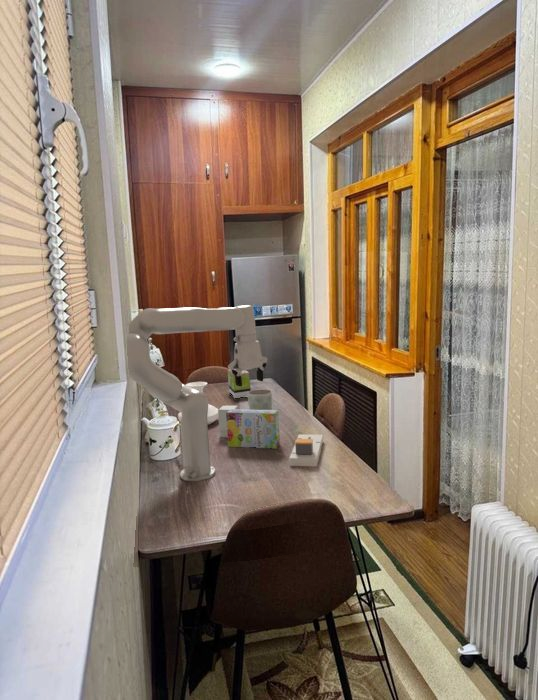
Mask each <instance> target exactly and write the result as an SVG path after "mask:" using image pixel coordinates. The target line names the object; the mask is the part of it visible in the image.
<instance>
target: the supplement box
mask: <svg viewBox="0 0 538 700" xmlns="http://www.w3.org/2000/svg"><path fill="white" fill-rule="evenodd" d="M230 409H239V406H238V405H222V406H221V407H220V408H218V416H219V417H218V427H219V428H218V429H219V438H228V433H227V418H226V412H228V411H229V410H230Z"/></svg>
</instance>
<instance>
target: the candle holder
mask: <svg viewBox="0 0 538 700" xmlns="http://www.w3.org/2000/svg"><path fill="white" fill-rule="evenodd" d="M185 385H186V386H189V387H191V388H194V389H197V390H199V391H201V392H202V393H203V394H204V387H206V386H207V385H208V382H206V381H193V382H188V383H186V384H185ZM218 410H219V408H217V407H215V405H212V404H209V403H208V414H207V425H211V424H212V423H214V422H215V421H216V420H217V419H219V416H218ZM177 417H178V421H179V422H180V423H181V418H182V413H181V412H180V411H179V413H178V414H177Z"/></svg>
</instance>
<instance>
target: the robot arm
mask: <svg viewBox="0 0 538 700" xmlns="http://www.w3.org/2000/svg"><path fill="white" fill-rule="evenodd" d="M128 324H129V333H128V336H127V356H128V369H129V374H128V375H130V376H129V377H130V378H131V379H132V380H133V381H134V382H135V383H137V384H138V385H139V386H141V387H143V388H144V389H146V391H147V392H148V393H149V395H151V396H152V397H154V398H155V399H157V400H159V401H160V402H162V403H164V404H165V405H167V406H168V407H171V408H172V409H174V410H176V411H178V412H179V413H180V412H181V413H182V418H181V422H180V436H181V437H180V439H181V449H182V460H183V469H182V470H181V471H180V473H179V476H180V479H182V480H183V481H185V482H186V481H187V482H201V480H202V481H206V480H208V479H211V478H212V477H213V475H214V476H215V474H216V468H215V467H214V466H212V465H211V453H210V440H209V438H210V437H209V430H208V428H209V427H208V425H209V424H208V425H207V414H208V404H209V401H208V398H207V396H206V395H205V394H204V392H203V393H202V392H201V391H199V390H197V389H194V388H191V387H189V386H186V384H184V383H182V382H181V381H180V379H179V377H177V376H176V375H174V374H173V373H170V372H168V371H167V370H165V369H164V368H162V367H160V366H159V365H158V364H157V363H155V362H153V361H152V358H151V356H150V354H151V353H150V352H151V351H150V349H151V347H150V343H149V341H148V339H149V338H150V337H151V336H152V335H153V334H154V335H167V334H168V335H169V334H181V333H202V332H215V331H230V330H231V331H233V330H235V337H233V341H234V342H236V343H234V351H233V352H234V353H233V355H234V358H233V359H234V360H233V361H232V362H230V363H229V364H228V365H227V368H228V370H230V372H231V373H232V374H233V375H235V383H236V385H237V386H240V387H241V386H242V378H241V376H240V374H241V372H242V370H246V371H248V370H253V369H256V380H257V381H259V382H264V371H265V368H266V366H267V362H268V357H267V356H264V355H262V348H261V344H260V342H259V340H257V334H256V333H257V332H256V318H255V309H254V306H253V305H250V304H246V305H245V304H244V305H237V306H234V307H232V306H231V307H230V306H229V307H226V306H222V307H221V306H220V307H217V308H204V307H203V308H202V307H189V306H188V307H175V308H174V307H172V308H171V307H169V308H168V307H167V308H154V307H153V308H151V307H150V308H149V307H148V308H144V309H143V310H142V311H140V312H139V313H138V314H136V316H134V318H133V319H132V320H131V321H130V322H129V323H128ZM234 369H235V370H234ZM210 477H211V478H210ZM205 479H206V480H205Z"/></svg>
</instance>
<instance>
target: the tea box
mask: <svg viewBox="0 0 538 700" xmlns="http://www.w3.org/2000/svg"><path fill="white" fill-rule="evenodd" d="M235 369H236V368H234V370H235ZM240 376H241V378H242V386H241V387H240V386H237V385H236V383H235V375H233V374H232V373H231V372H230V370H229V369H227V378H228V379H227V380H228V393H229V392H230V393H231V394H232V395H233V396H232V395H231V394H230V393H229V394H230V395H231V396H232V398H233V399H235V398H238V397H246V396H248V392H249V391H251V390H252V388H251V378H250V376H251V375H250V372H249V371H248V370H242V372H241V374H240Z"/></svg>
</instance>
